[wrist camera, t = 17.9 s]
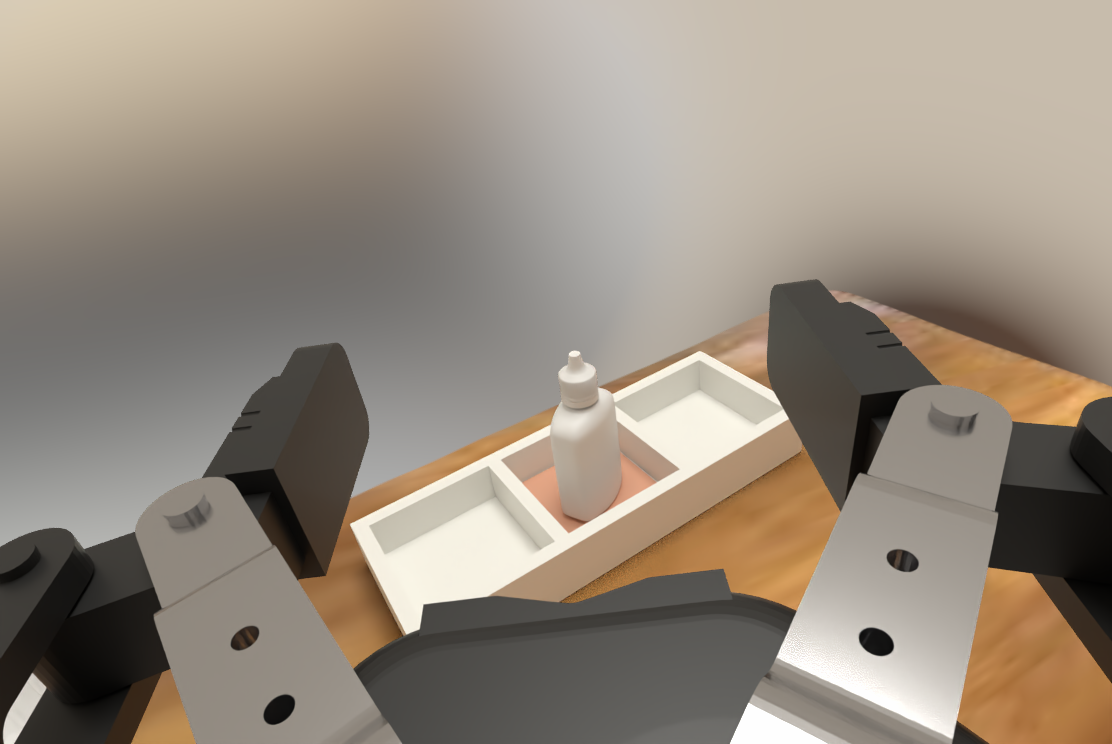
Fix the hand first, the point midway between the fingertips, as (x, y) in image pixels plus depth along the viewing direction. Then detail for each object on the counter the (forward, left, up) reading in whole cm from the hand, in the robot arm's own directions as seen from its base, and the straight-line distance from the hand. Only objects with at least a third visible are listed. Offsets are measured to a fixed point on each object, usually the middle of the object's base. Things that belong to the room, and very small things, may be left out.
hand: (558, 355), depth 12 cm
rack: (0, -24, -28) cm, 37 cm away
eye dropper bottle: (0, -24, -27) cm, 36 cm away
